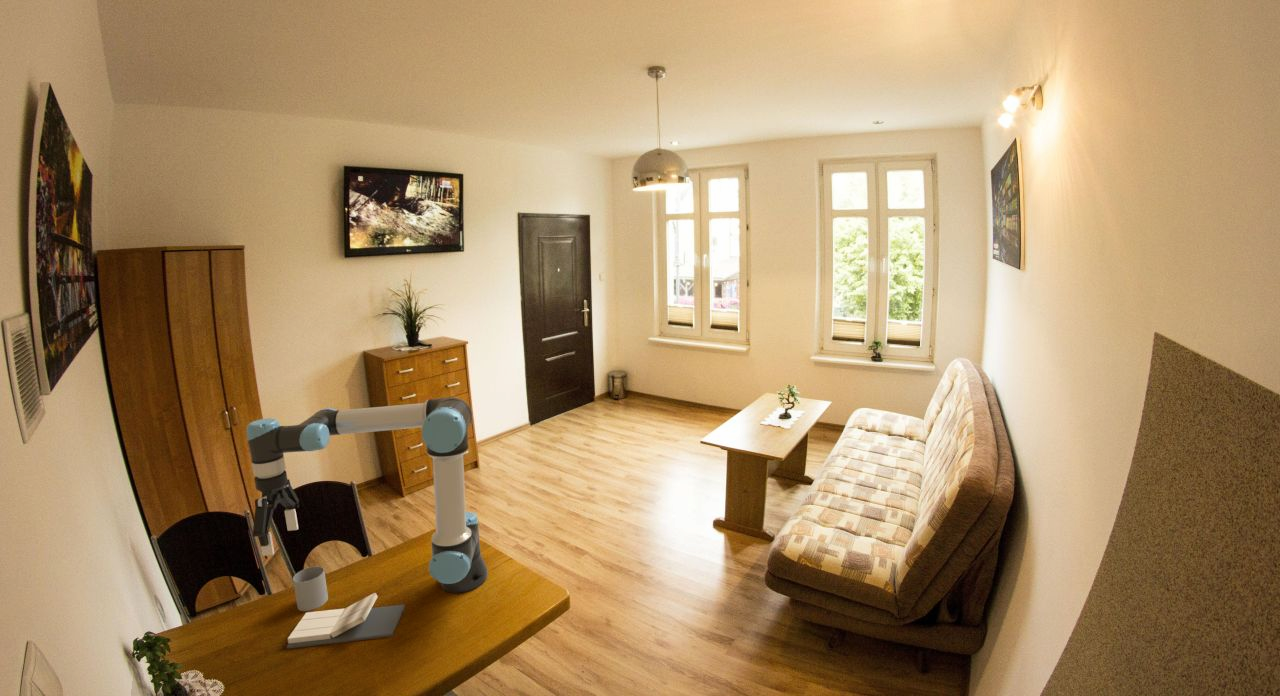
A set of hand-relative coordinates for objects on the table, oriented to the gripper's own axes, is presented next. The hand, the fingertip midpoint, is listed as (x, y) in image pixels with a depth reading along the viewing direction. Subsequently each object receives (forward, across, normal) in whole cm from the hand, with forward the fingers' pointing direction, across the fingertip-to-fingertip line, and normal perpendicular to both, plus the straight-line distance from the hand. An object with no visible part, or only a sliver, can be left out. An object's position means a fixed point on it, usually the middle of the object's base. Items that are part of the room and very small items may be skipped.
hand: (281, 541), depth 152 cm
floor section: (+27, +4, +17) cm, 32 cm away
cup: (+27, -10, +1) cm, 29 cm away
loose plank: (+24, +4, +19) cm, 31 cm away
